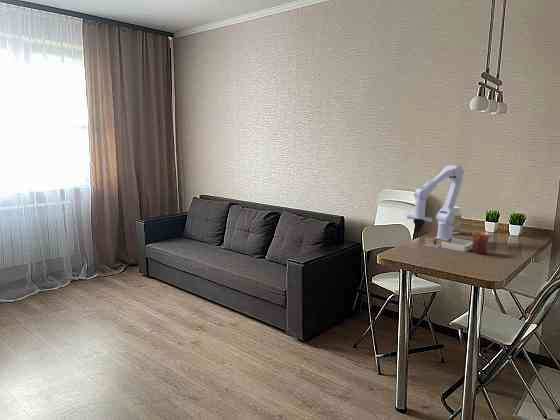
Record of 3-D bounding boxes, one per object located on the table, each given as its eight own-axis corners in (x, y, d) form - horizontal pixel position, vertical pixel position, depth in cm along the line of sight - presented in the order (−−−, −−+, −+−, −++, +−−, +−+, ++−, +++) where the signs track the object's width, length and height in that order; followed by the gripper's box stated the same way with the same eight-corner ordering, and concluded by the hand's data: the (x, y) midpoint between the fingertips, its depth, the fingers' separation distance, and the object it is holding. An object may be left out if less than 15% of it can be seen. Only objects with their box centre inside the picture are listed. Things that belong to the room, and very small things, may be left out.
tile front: (439, 243, 246) (439, 239, 245) (448, 244, 242) (448, 240, 242) (436, 244, 242) (436, 240, 241) (444, 246, 239) (445, 242, 238)
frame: (451, 242, 246) (452, 237, 246) (475, 246, 238) (476, 241, 237) (441, 247, 234) (441, 242, 234) (465, 251, 226) (465, 246, 225)
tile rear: (428, 241, 250) (428, 237, 249) (436, 242, 247) (437, 238, 246) (424, 242, 246) (425, 238, 246) (433, 244, 243) (433, 240, 242)
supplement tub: (462, 234, 270) (465, 208, 268) (443, 234, 270) (446, 207, 267) (454, 230, 282) (457, 205, 280) (436, 230, 282) (438, 205, 280)
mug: (472, 249, 231) (474, 231, 229) (490, 252, 226) (492, 233, 224) (466, 254, 221) (468, 234, 220) (485, 257, 216) (487, 237, 215)
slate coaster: (426, 244, 243) (426, 243, 243) (441, 246, 239) (441, 245, 239) (422, 247, 237) (422, 245, 237) (437, 249, 232) (437, 247, 232)
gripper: (405, 208, 251) (403, 231, 253) (429, 211, 241) (427, 235, 243) (410, 207, 256) (408, 229, 258) (434, 210, 246) (432, 233, 248)
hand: (418, 232), depth 251 cm, fingers closed
